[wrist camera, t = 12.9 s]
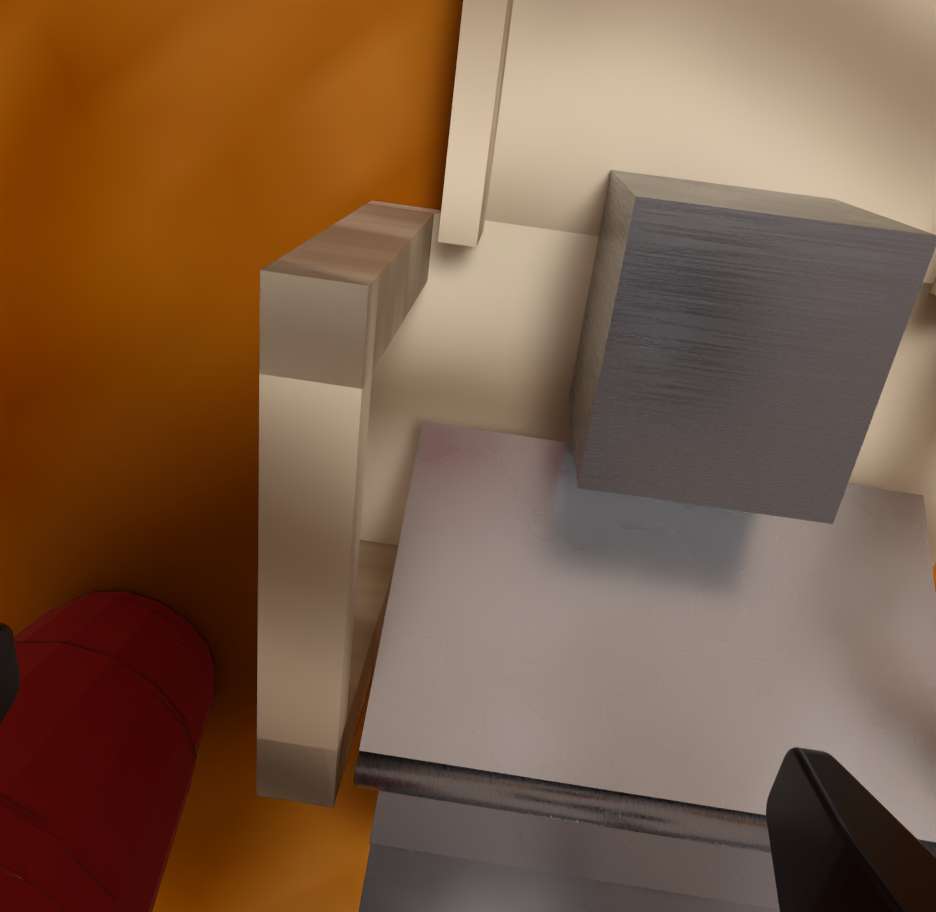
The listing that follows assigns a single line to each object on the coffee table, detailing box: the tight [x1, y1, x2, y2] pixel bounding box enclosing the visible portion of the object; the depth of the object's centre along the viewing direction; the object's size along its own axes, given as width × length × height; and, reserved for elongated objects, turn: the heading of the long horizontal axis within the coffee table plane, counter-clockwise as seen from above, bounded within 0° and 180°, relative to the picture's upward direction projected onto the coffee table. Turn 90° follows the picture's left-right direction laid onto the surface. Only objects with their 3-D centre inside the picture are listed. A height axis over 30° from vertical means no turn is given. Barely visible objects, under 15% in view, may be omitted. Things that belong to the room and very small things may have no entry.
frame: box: [257, 0, 936, 808], centre depth 15 cm, size 21×16×8 cm
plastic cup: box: [0, 591, 216, 912], centre depth 20 cm, size 11×11×12 cm
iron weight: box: [569, 170, 936, 524], centre depth 16 cm, size 5×5×6 cm
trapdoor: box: [354, 421, 936, 912], centre depth 18 cm, size 13×12×6 cm
